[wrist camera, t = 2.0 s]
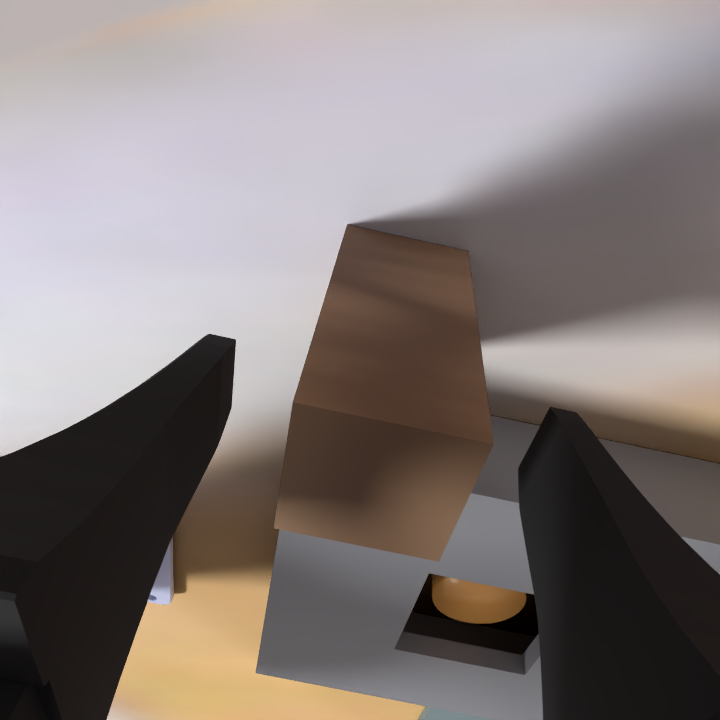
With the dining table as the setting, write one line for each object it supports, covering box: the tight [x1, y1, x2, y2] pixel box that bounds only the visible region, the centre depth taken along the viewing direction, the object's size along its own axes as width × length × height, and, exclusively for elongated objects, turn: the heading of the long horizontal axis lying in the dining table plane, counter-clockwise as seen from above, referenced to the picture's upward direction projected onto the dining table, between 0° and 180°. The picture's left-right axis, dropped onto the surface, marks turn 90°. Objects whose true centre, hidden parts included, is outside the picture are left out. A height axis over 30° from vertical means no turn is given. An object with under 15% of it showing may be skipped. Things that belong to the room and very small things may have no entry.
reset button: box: [432, 574, 526, 624], centre depth 22 cm, size 4×4×1 cm
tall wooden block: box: [274, 225, 494, 562], centre depth 14 cm, size 4×4×8 cm
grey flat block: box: [256, 415, 720, 720], centre depth 22 cm, size 16×14×4 cm
